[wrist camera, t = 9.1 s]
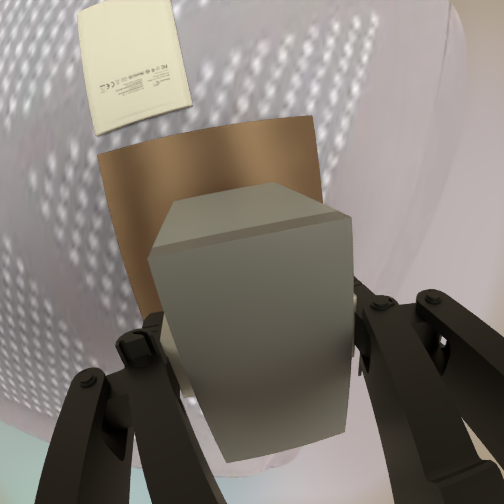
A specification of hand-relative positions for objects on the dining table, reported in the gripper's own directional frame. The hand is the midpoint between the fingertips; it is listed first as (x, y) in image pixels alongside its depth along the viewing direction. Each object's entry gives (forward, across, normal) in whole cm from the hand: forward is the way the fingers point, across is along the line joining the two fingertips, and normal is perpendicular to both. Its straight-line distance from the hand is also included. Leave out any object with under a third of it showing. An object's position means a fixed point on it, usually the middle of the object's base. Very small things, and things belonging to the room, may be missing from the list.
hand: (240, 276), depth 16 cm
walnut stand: (+10, 0, 0) cm, 10 cm away
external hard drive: (+11, -5, +16) cm, 20 cm away
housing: (0, 0, 0) cm, 0 cm away
